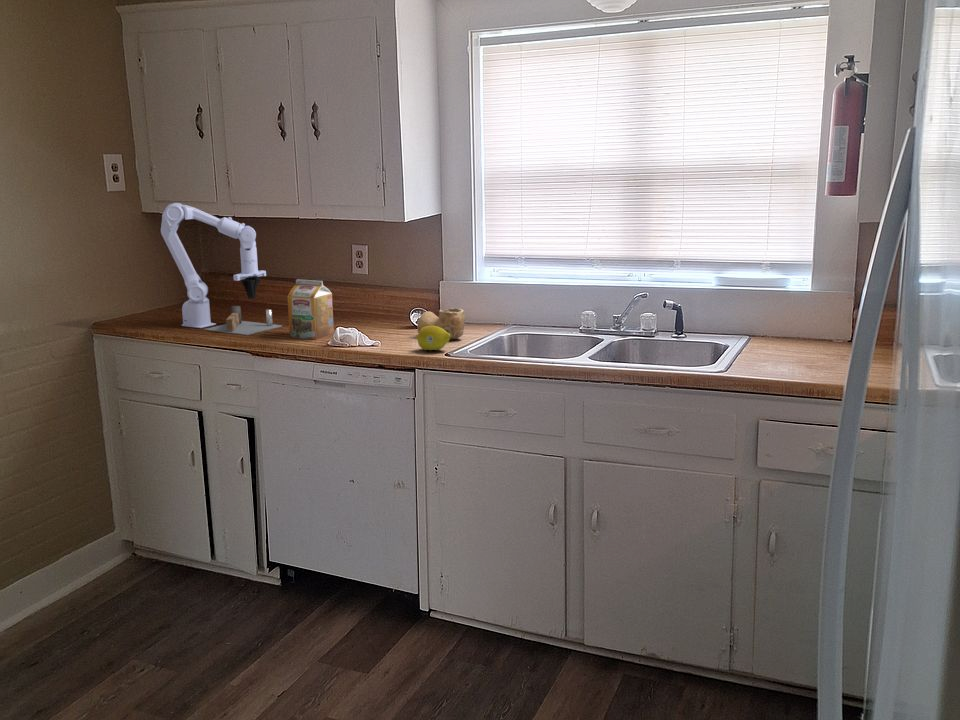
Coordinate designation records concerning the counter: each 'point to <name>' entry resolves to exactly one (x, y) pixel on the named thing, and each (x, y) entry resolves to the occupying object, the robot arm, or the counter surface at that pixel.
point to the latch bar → (234, 318)
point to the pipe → (444, 321)
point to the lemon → (432, 338)
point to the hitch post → (269, 317)
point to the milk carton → (310, 310)
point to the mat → (244, 328)
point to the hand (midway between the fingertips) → (251, 298)
